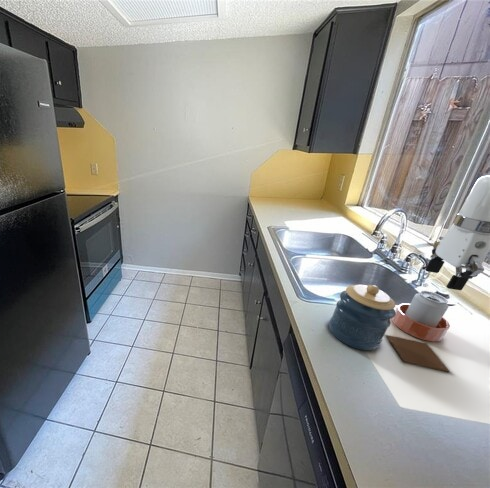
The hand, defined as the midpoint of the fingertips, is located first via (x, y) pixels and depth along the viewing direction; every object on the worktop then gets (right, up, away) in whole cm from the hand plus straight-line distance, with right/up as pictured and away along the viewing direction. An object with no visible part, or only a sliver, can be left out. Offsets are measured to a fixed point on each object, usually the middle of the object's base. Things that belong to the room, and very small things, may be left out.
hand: (441, 279), depth 75 cm
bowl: (-1, -16, +7) cm, 18 cm away
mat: (-10, -20, -2) cm, 23 cm away
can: (-1, -16, +7) cm, 18 cm away
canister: (-24, -17, +3) cm, 29 cm away
